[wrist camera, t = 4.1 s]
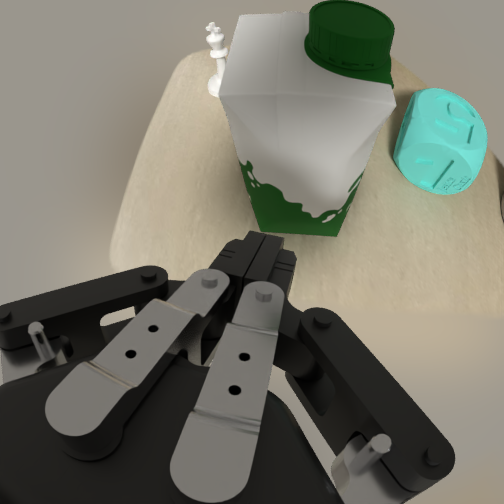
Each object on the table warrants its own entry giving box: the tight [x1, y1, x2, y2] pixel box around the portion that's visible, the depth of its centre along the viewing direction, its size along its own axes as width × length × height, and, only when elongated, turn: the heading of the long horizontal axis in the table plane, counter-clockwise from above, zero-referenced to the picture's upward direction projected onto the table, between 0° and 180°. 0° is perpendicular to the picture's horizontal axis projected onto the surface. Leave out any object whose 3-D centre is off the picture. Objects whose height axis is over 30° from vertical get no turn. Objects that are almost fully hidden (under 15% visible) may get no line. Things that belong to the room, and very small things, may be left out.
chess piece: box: [206, 22, 228, 97], centre depth 31 cm, size 5×5×10 cm
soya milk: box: [218, 0, 396, 237], centre depth 20 cm, size 9×9×20 cm
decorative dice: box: [393, 88, 487, 194], centre depth 26 cm, size 8×8×8 cm
